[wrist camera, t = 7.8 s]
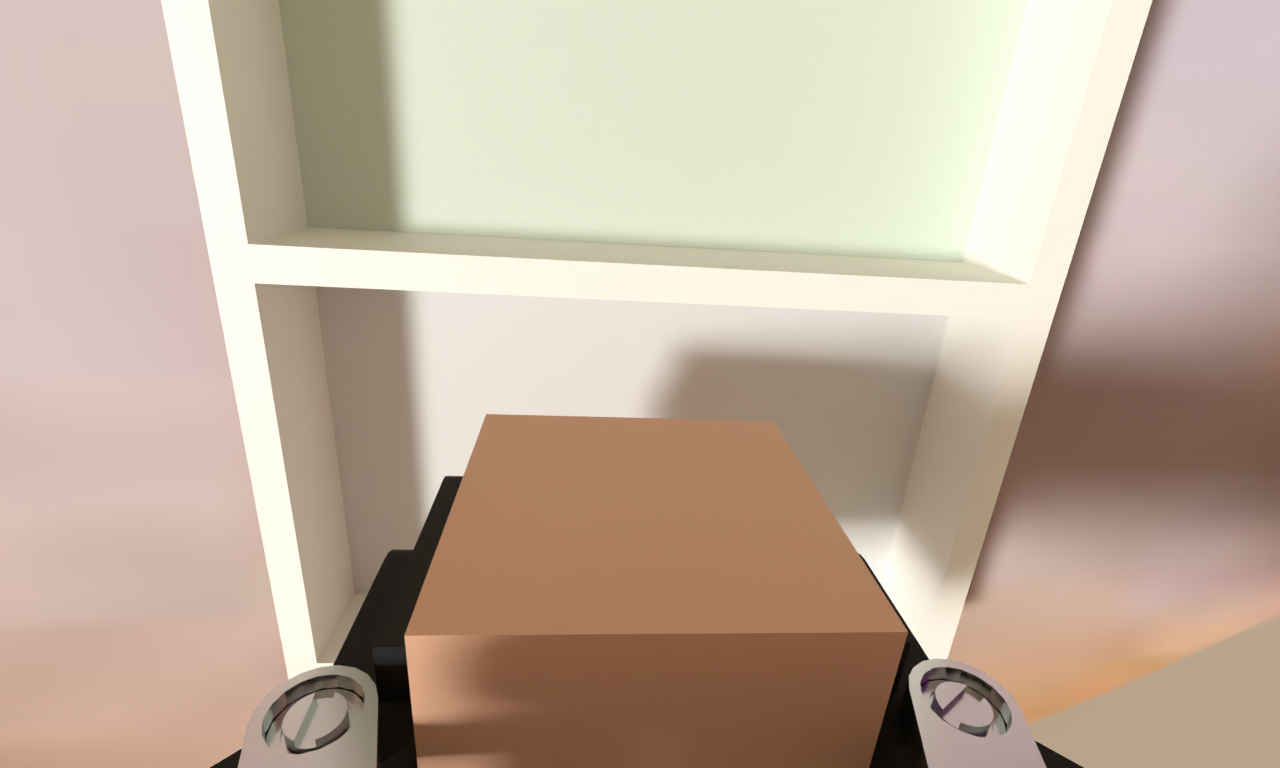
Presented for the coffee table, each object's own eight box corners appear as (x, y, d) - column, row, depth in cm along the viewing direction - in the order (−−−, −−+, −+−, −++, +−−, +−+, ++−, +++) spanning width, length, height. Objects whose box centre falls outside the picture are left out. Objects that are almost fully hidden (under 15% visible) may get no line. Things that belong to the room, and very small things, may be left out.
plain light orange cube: (485, 414, 10) (404, 635, 6) (773, 421, 11) (908, 632, 6) (493, 641, 12) (436, 945, 8) (739, 639, 13) (823, 926, 8)
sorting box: (202, -378, 10) (54, -573, 7) (1111, -265, 11) (1275, -395, 9) (339, 599, 17) (289, 685, 15) (888, 603, 19) (939, 684, 16)
